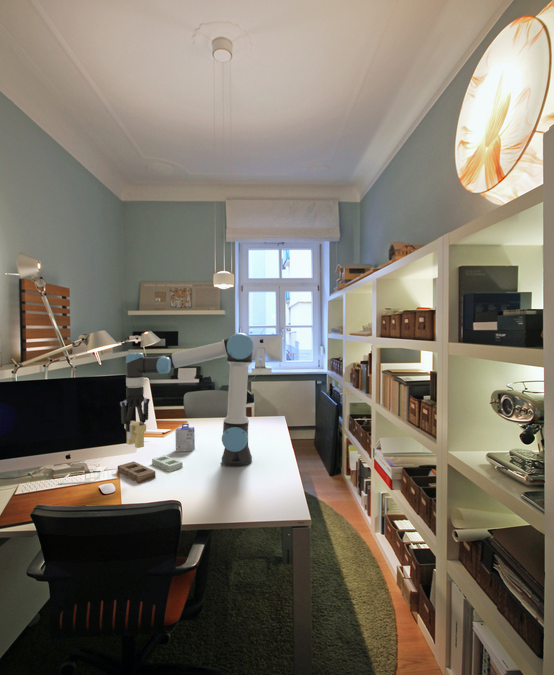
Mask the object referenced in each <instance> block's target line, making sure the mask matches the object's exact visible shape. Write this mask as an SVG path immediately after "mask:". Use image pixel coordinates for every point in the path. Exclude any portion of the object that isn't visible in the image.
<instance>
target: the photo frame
mask: <svg viewBox="0 0 554 675" xmlns="http://www.w3.org/2000/svg"><path fill="white" fill-rule="evenodd" d="M88 468H89V470H90V472H91V473H94V472H93V471H101V472H98V474H97V475H96V477H94V478H93V479H92V480H82V481H65V480H66V479H67V478H69V475H70V474H69V473H68V474H67V475H65V476H64V477H63V478H62V479H61V480H60V481H58V483H57V485H71V484H88V483H94V482H95V481H96V480H97V479H98V478H99V477H100V476H101V475H102V474H103V473H104V472H105V471H106V470H107V469H108V466H99V467H98V466H96V467H88ZM104 470H105V471H104ZM103 471H104V472H103ZM102 472H103V473H102ZM101 473H102V474H101ZM100 474H101V475H100ZM99 475H100V476H99ZM70 476H71V475H70ZM98 476H99V477H98ZM97 477H98V478H97ZM96 478H97V479H96Z"/></svg>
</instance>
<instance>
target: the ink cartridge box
mask: <svg viewBox="0 0 554 675" xmlns="http://www.w3.org/2000/svg"><path fill="white" fill-rule="evenodd" d="M181 424H182V425H181V427H177V428H176V429H175V432H174V433H175V453H177V452H179V453H180V452H194V450H195V449H196V447H195V446H196V445H195V440H196V439H195V438H196V437H195V435H196V434H195V426H191V427H190V426H189V425H190V424H189V423H181Z"/></svg>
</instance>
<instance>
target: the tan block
mask: <svg viewBox="0 0 554 675" xmlns="http://www.w3.org/2000/svg"><path fill="white" fill-rule="evenodd" d="M139 422H140V421H136V420H131V423H130V424H132V439H128V432H126V444H127V445H134V448H136V449H140V448H144V446H145V432H147V425H146V423H144V424H142V423H139ZM123 425H124V426H123V427H124V429H125V430H126V424H123Z"/></svg>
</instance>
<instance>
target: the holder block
mask: <svg viewBox="0 0 554 675" xmlns="http://www.w3.org/2000/svg"><path fill="white" fill-rule="evenodd" d="M151 464H152V465H153V466H156V467H158V468H160V469H163V470H165V471H168V472H172V471H176V470H179V469H182V468H183V461H180V460H178V459H176V458H172V457H170V456H168V455H161V456H158V457H153V458H152V459H151Z"/></svg>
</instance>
